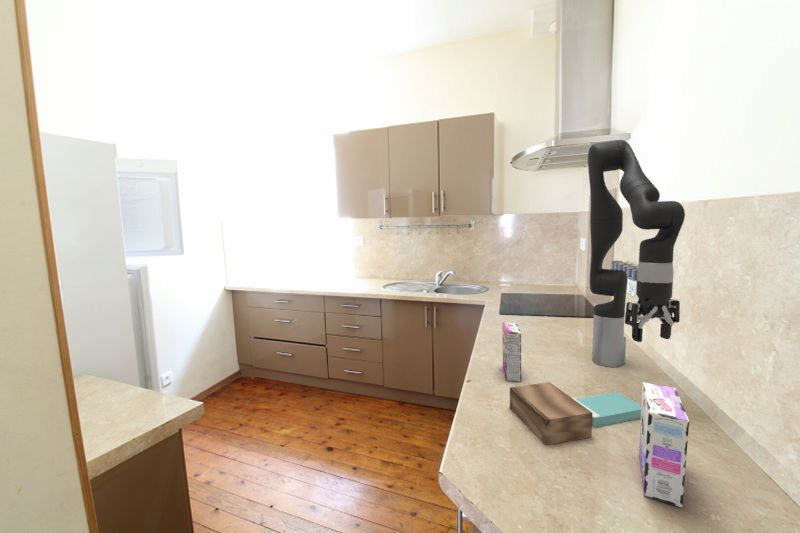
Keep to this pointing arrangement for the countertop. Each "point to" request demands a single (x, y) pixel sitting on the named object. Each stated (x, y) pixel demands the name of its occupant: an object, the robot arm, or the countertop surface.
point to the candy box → (663, 443)
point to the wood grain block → (550, 413)
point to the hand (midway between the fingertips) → (651, 339)
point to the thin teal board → (610, 408)
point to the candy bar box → (511, 351)
